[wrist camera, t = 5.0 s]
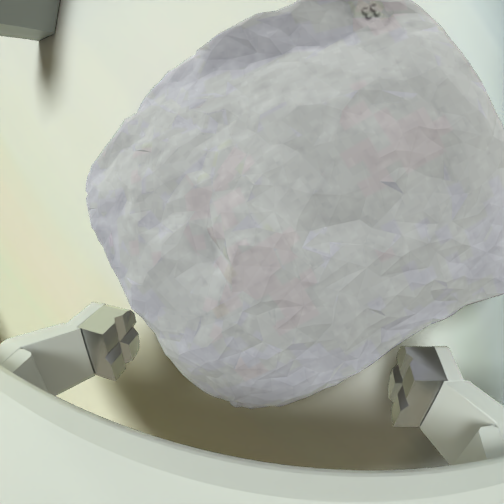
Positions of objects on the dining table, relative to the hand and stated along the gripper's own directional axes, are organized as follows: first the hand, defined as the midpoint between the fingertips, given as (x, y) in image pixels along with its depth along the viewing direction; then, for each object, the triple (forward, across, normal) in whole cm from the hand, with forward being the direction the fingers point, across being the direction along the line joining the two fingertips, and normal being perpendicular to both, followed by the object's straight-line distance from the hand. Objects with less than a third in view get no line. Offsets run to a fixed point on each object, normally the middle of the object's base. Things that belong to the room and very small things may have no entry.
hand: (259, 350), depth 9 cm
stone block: (+3, -1, -4) cm, 5 cm away
